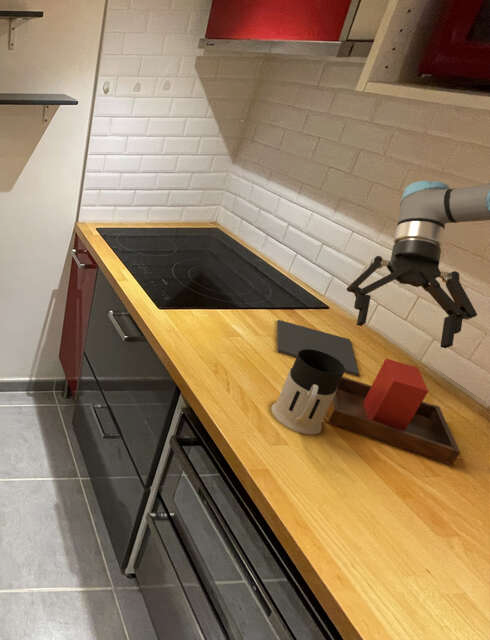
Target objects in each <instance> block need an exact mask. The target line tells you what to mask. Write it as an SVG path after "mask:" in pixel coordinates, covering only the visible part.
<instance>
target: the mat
mask: <svg viewBox="0 0 490 640" xmlns="http://www.w3.org/2000/svg"><path fill="white" fill-rule="evenodd" d="M276 332H277V335H276V336H277V338H276V339H277V340H276V341H277V353H280V354H284V355H287V356H290V357H293V358H296V357H297V355H298V353H299V351H300V350H303V349H312V350H317V351H321V352H324V353H326V354H328V355H331V356H333V357H334V358H336V359H337V360H339V361H340V362H341V363H342V364H343V365H344V367H345V372H344V373H345V374H350V375H352V376H356V377H358V376H359V369H358V365H357V361H356V358H355V354H354V350H353V346H352V343H351V339H350V338H346V337H342V336H339V335H335V334H332V333H328V332H325V331H321V330H317V329H313V328H309V327H306V326H302V325H299V324H295V323H292V322H288V321H284V320H281V319H277V321H276Z"/></svg>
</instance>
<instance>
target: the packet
mask: <svg viewBox="0 0 490 640" xmlns="http://www.w3.org/2000/svg"><path fill="white" fill-rule="evenodd" d="M428 393H429V389H428V387H427V385H426V382H425V380H424V377H423V376H422V373H421V371H420V369H419V367H417V366H414V365H411V364H407V363H405V362H404V363H403V362H400V361H396V360H393V359H390V358H385V359H384V361H383V363H382V365H381V367H380V369H379V371H378V373H377V375H375V378H374V380H373V382H372V384H371V388H370V390H369V392H368V394H367V396H366V398H365V399H364V401H363V403H364V407H365V411H366V415H367V419H370V420H373V421H376V422H379V423H382V424H385V425H388V426H391V427H393V428H396V429H399V430H402V431H405V430H406V428H407V426H408V425H409V423H410V421H411V420H412V418H413V416H414V415H415V413H416V411H417V410H418V408H419V406H420V404H421V403H422V401H423V402H424V400H425V398H426V396H427V394H428Z"/></svg>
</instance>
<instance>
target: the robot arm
mask: <svg viewBox="0 0 490 640" xmlns="http://www.w3.org/2000/svg"><path fill="white" fill-rule="evenodd" d="M485 221H487V222H488V221H490V182H488V183H484V184H480V185H473V186H464V187H457V188H450V187H449V185H448V184H446V183H444V182H442V181H437V180H433V181H432V180H431V181H429V180H419V181H416V182H415V181H414V182H412V183H410V184H408V185H407V186H406V187H405V188H404V190H403V193H402V197H401V199H400V201H399V211H398V219H397V224H396V229H395V236H394V239H393V243H394V244H393V245H392V250H391V255H390V259H389V260H387V259H383V256H380V255H376V256H375V257H374V258H373V259H372V260H371V261H370V263H369V266H368V268H367V269H365V270H364V271H363V272H362V273H361V274H360V275H359V276H358V277H357V278H356V279H355V280H353V281H352V282H351V283H350V284H349V285H348V286H347V287H346V291H347V292H348V293H352V294H354V297H355V300H354V305H353V308H354V309H355V310H358V316H357V319H356V320H357V321H356V326H359V327H361V326H364V325H365V324H366V323H367V318H368V312H369V307H370V302H371V294H370V293H372V292H373V291H376V290H377V289H380V288H381V287H383V286H385V285H388V284H390V283H391V282H394V281H397V282H398V283H399V284H401V285H409V286H412V287H416V288H419V287H421V288H422V289H423V290H424V291H425V292H427V293H428V294H429V295H430V296H431V297H432V298H433V299H434V301H435V302H436V303H437V305H439V306H440V308H441V309H442V310H443V311H444V312H445V314H446V315H447V316H446V317H444V318H443V326H442V333H441V340H440V345H439V346H440V348H443V349H447V348H451V347H453V346H454V338H455V335H457V334H459V333H460V332H461V331H462V327H463V320H467V321H468V320H470V319H473V318H476V317H477V316H478V313H477V311H476V309H475V307H474V306H473V303H472V302H471V300H470V298H469V297H468V294H467V292H466V291H465V289H464V288H463V285H462V284H461V280H460V273H459V272H458V271H457V270H453V271H451V272H448V271H441V270H440V268H439V267H440V261H441V254H442V246H443V240H444V234H445V233H444V232H445V228H446V224H455V223H458V224H459V223H469V222H485ZM383 267H386V268H387V270H388V271H389V274H387V275H386V276H383V277H382V278H380V279H378V280H376V281H373V282H372V283H370V284H368V285H366V286H364V287H360V286H361V284H363V283H364V282H365V281H366V280H367V279H368V278H370V277H371V275H372V274H373V273H375V272H376V270H378V269H379V270H380V269H382V268H383ZM437 278H439V279H441V281H442V283H445V287H446V289H447V291H448V293H449V294H448V293H447V292H446V291H445V290H444V289H443V288H442V287H441V283H440V282H439V281H438V280H437ZM449 295H450V296H449Z"/></svg>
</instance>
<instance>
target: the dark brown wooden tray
mask: <svg viewBox="0 0 490 640" xmlns="http://www.w3.org/2000/svg"><path fill="white" fill-rule="evenodd" d="M371 386H372V384H367V383H364V382H361V381H357V380H354V379H351V378H348V377H344V376H342V378H341V380H340V382H339V384H338V389H337V391H336V393H335V396H334V398H333V400H332V402H331V404H330V406H329V408H328V410H327V412H326V419H327V423H328V424H331V425H334V426H337V427H340V428H341V429H342V428H343V429H345V430H348V431H351V432H353V433H357V434H359V435H362V436H365V437H368V438H371V439H374V440H377V441H379V442H382V443H385V444H388V445H391V446H393V447H397V448H399V449H402V450H405V451H408V452H410V453H413V454H416V455H419V456H422V457H425V458H428V459H430V460H434V461H436V462H439V463H442V464H444V465H447V466H450V467H452V465H453V464H454V463H455V461H456V459H457V458H458V457H459V455H460V454H461V451H460V448H459V446H458V444H457V442H456V440H455V437H454V436H453V433H452V431H451V429H450V427H449V424H448V422H447V420H446V418H445V416H444V414H443V411H442V409H441V407H440V406H439V405H435V404H433V403H429V402H426V401H424V400H423V401H422V403H421V404H420V406H419V408H418V410H417V411H416V413H415V415H414V416H413V418H412V420H411V421H410V423H409V425H408V426H407V428H406V430H405V431H402V430H399V429H396V428H393V427H391V426H388V425H385V424H382V423H379V422H376V421H373V420H370V419H367V415H366V411H365V407H364V403H363V401H364V399H365V398H366V396H367V394H368V392H369V390H370V388H371Z"/></svg>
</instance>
